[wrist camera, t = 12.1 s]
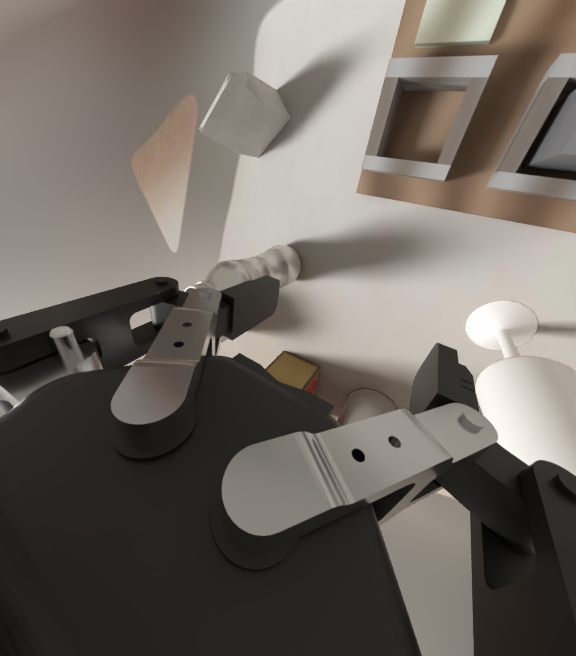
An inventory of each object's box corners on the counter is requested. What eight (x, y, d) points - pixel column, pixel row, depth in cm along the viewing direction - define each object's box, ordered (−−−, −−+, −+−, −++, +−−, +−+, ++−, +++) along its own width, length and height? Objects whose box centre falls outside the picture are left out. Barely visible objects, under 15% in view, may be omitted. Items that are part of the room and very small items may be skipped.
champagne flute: (518, 290, 27) (672, 486, 9) (551, 336, 27) (767, 621, 9) (454, 317, 31) (468, 485, 13) (483, 357, 31) (535, 576, 13)
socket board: (796, -49, 14) (915, -132, 10) (577, 232, 23) (601, 239, 19) (410, -4, 22) (404, -43, 18) (358, 192, 31) (347, 192, 27)
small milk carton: (290, 118, 31) (241, 92, 23) (258, 157, 35) (208, 146, 28) (276, 90, 30) (221, 54, 23) (245, 133, 35) (190, 116, 27)
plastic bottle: (266, 262, 43) (168, 299, 28) (286, 233, 38) (183, 258, 23) (289, 289, 42) (204, 340, 27) (313, 263, 38) (227, 307, 23)
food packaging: (312, 410, 53) (240, 528, 35) (277, 392, 57) (195, 489, 38) (322, 366, 46) (238, 483, 28) (281, 349, 50) (183, 441, 31)
